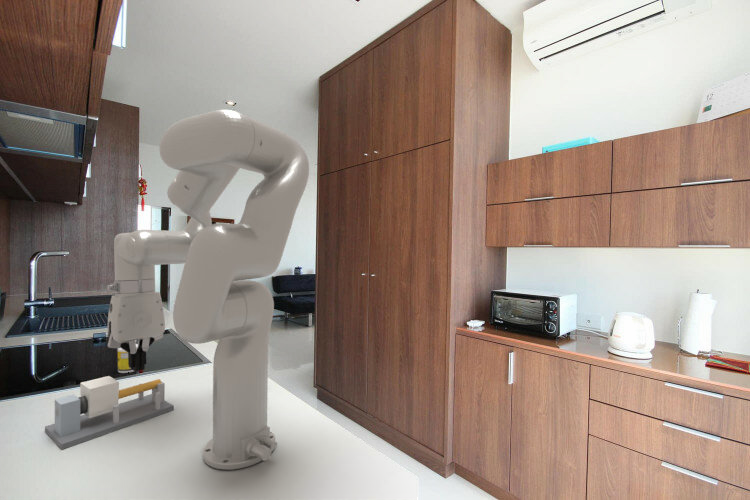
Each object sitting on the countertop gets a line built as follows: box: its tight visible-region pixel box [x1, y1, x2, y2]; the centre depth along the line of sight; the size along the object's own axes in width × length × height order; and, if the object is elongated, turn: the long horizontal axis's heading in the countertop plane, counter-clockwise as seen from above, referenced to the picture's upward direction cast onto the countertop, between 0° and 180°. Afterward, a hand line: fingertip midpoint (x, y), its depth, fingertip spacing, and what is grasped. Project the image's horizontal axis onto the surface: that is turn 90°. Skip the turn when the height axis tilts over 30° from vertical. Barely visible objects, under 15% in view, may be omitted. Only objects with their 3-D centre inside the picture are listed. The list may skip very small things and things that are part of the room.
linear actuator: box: [44, 378, 175, 451], centre depth 77 cm, size 20×11×7 cm, turn 145°
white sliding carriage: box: [79, 375, 120, 418], centre depth 75 cm, size 5×6×6 cm
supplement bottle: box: [117, 340, 138, 374], centre depth 107 cm, size 5×5×10 cm
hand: (137, 369), depth 80 cm, fingers closed
